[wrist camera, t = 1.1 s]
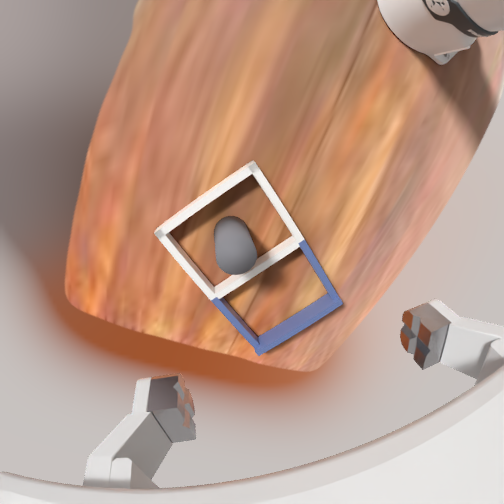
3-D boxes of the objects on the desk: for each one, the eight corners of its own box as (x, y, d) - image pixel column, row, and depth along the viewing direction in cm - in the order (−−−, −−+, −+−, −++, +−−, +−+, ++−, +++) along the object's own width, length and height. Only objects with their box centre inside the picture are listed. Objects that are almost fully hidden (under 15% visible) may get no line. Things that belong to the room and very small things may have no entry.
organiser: (252, 160, 37) (256, 162, 34) (335, 293, 46) (343, 303, 43) (156, 228, 38) (152, 236, 35) (255, 343, 48) (258, 355, 45)
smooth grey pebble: (235, 209, 39) (242, 228, 32) (253, 235, 41) (264, 260, 33) (207, 228, 39) (207, 252, 32) (226, 254, 41) (231, 282, 34)
